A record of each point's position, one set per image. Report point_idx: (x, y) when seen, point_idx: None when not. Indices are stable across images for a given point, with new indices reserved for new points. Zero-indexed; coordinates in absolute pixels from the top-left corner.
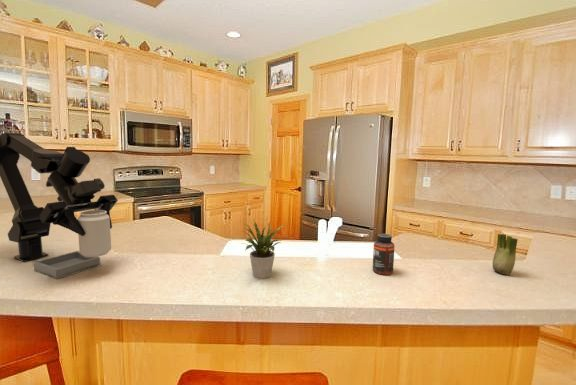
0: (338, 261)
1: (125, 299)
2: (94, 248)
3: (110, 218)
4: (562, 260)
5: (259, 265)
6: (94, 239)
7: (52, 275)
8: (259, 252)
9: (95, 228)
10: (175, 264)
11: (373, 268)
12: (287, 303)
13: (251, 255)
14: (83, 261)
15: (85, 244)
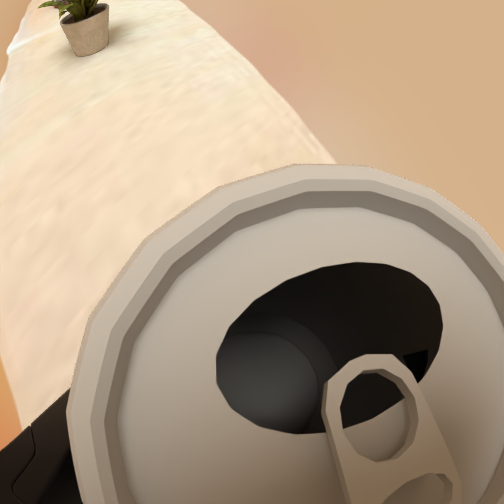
0: (30, 31)
1: (309, 143)
2: (315, 316)
3: (52, 405)
4: None
5: (108, 19)
6: (332, 301)
7: None
8: (90, 7)
9: (359, 262)
10: (60, 201)
11: (66, 1)
12: (181, 6)
13: (97, 14)
14: None
15: (359, 350)
